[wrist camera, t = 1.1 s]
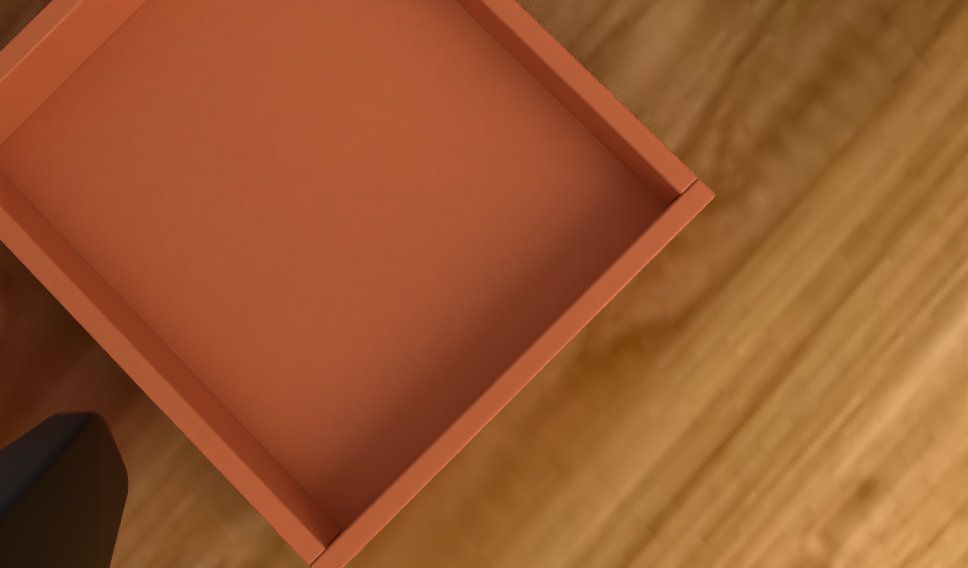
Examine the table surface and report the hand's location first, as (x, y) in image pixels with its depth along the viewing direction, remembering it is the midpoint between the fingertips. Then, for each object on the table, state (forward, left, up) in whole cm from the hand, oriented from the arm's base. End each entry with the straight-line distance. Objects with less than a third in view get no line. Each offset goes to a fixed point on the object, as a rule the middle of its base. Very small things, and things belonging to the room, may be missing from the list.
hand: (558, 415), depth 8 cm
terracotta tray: (+7, +1, -15) cm, 16 cm away
